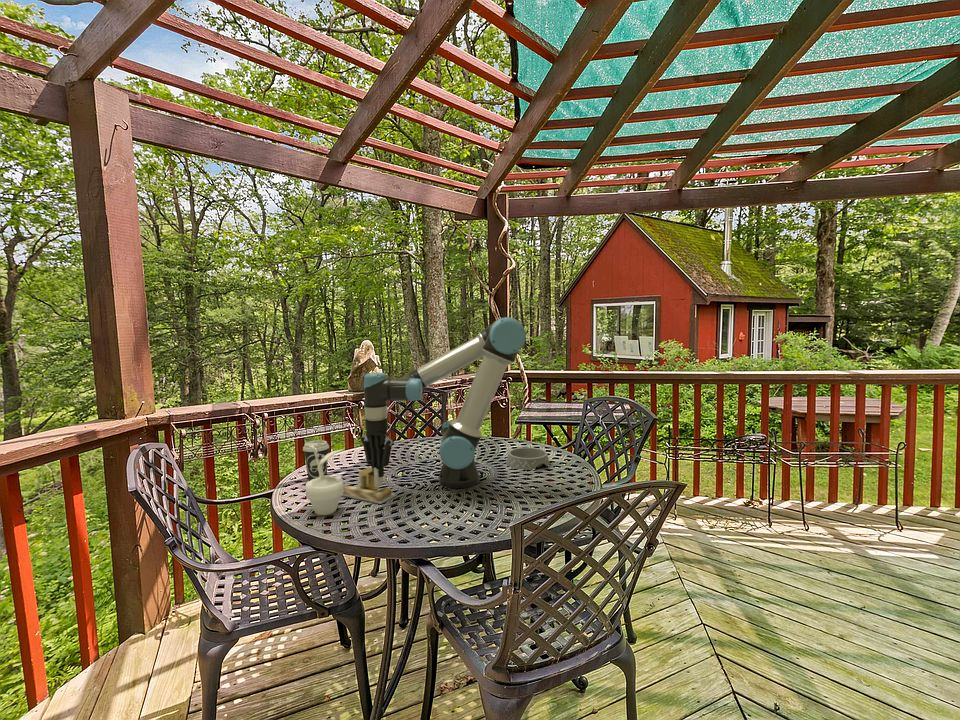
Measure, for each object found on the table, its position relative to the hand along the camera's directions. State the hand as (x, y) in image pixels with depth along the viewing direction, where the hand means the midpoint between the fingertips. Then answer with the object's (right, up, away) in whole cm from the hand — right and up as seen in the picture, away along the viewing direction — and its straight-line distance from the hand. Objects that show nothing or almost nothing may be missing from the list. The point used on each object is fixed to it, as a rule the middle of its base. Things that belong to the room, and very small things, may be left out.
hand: (378, 485), depth 166 cm
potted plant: (-14, -6, -12) cm, 19 cm away
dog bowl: (+55, -1, +34) cm, 65 cm away
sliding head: (-4, -3, +2) cm, 5 cm away
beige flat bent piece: (-4, -3, +1) cm, 5 cm away
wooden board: (-4, -4, +1) cm, 5 cm away
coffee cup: (-27, -3, +17) cm, 32 cm away
